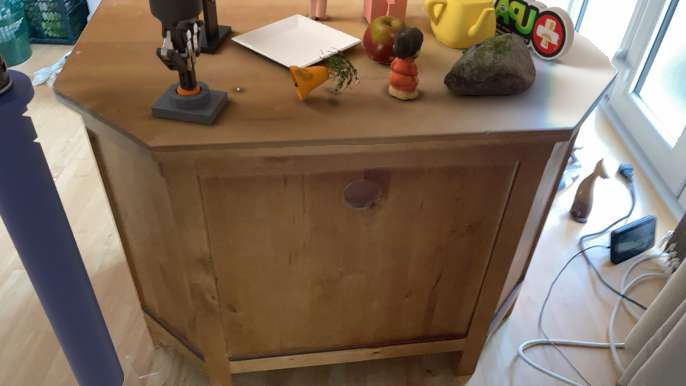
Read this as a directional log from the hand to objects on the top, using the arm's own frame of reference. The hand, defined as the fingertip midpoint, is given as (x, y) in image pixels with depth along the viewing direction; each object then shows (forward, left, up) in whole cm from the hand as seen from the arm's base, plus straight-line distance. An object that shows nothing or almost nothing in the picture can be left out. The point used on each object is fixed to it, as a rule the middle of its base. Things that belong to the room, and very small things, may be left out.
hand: (189, 88), depth 92 cm
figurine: (+34, +14, -4) cm, 37 cm away
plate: (+11, +27, -4) cm, 29 cm away
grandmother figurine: (+12, +43, -4) cm, 45 cm away
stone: (+48, +22, -4) cm, 53 cm away
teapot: (+42, +42, -4) cm, 59 cm away
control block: (0, 0, -4) cm, 4 cm away
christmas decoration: (+16, +7, -4) cm, 18 cm away
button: (0, 0, -2) cm, 2 cm away
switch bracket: (-8, +25, -4) cm, 27 cm away
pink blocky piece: (+26, +45, -4) cm, 52 cm away
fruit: (+29, +27, -4) cm, 40 cm away
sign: (+57, +42, -4) cm, 70 cm away
